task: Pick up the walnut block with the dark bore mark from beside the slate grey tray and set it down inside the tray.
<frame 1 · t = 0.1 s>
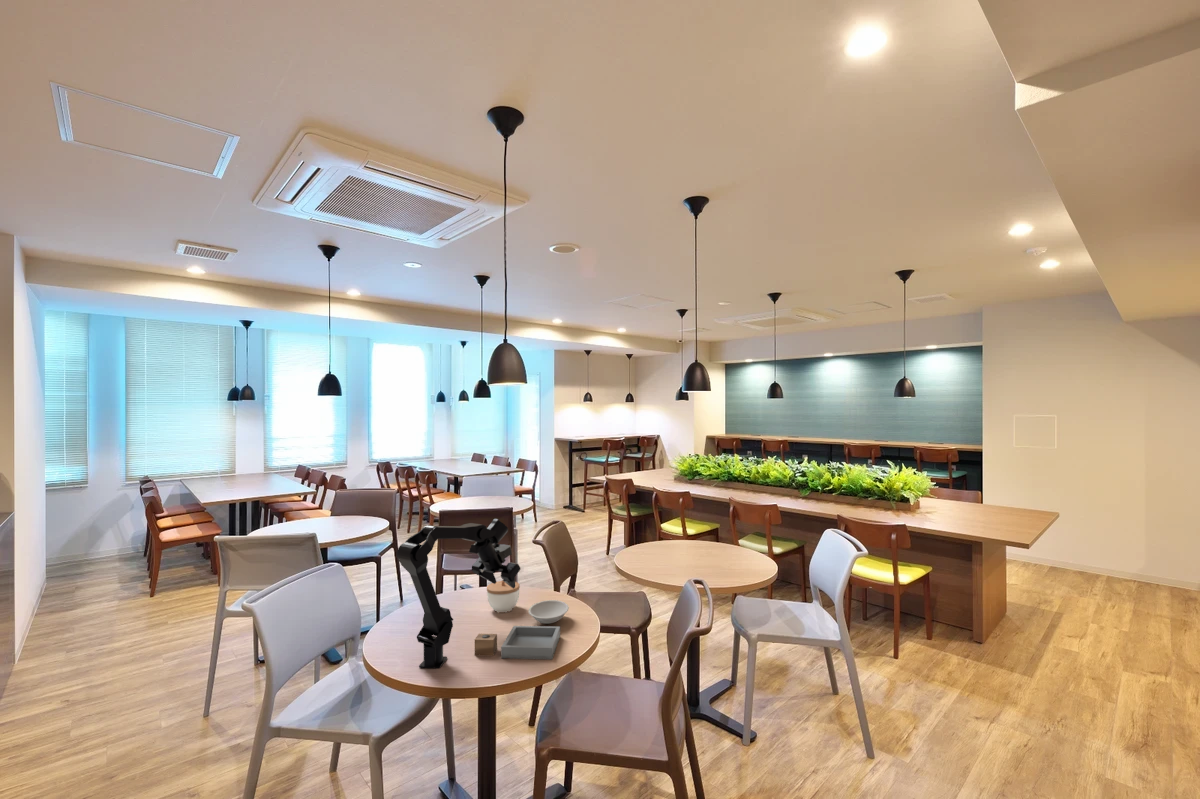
hand: (504, 585, 184), 15 cm above the table, tool tilted 30°, fingers open, 9 cm apart
walnut block: (486, 652, 165), on the table
dish: (548, 623, 187), on the table
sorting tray: (532, 647, 167), on the table
lidded bowl: (503, 609, 201), on the table
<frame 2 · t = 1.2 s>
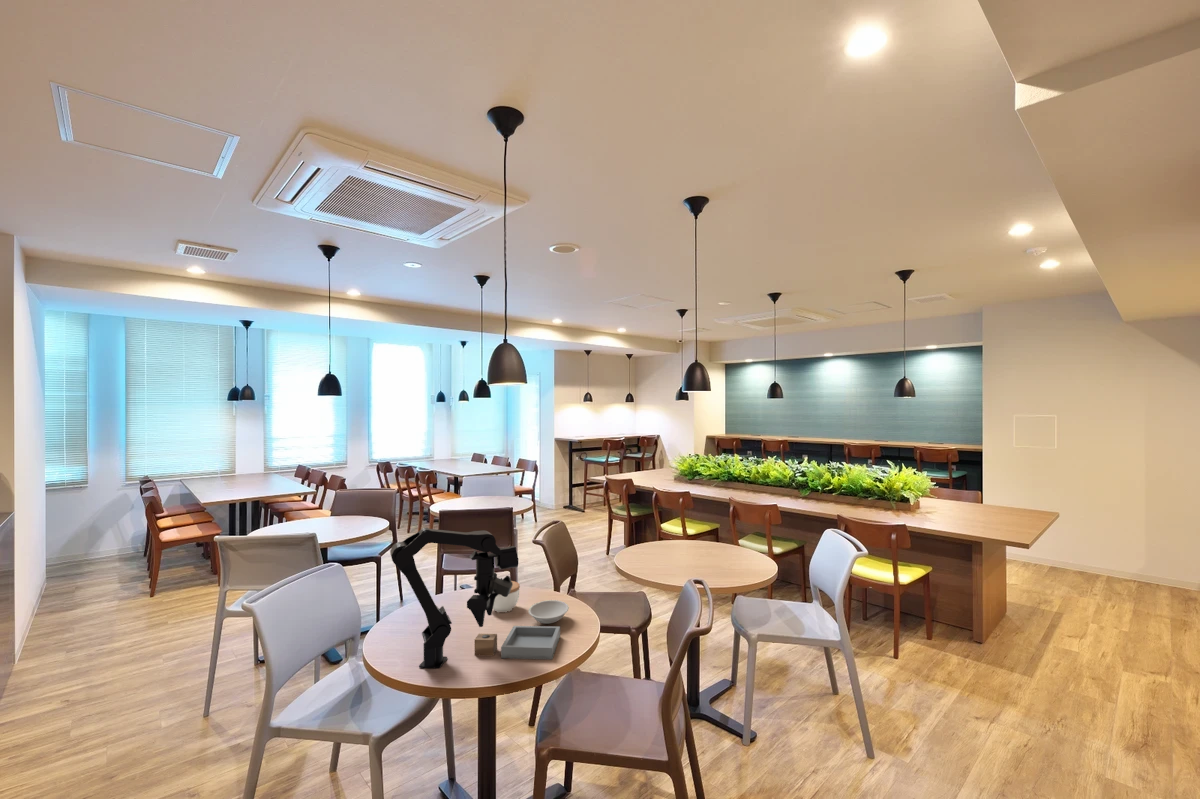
hand: (485, 620, 165), 10 cm above the table, tool pointing down, fingers open, 9 cm apart
nothing on the table moved.
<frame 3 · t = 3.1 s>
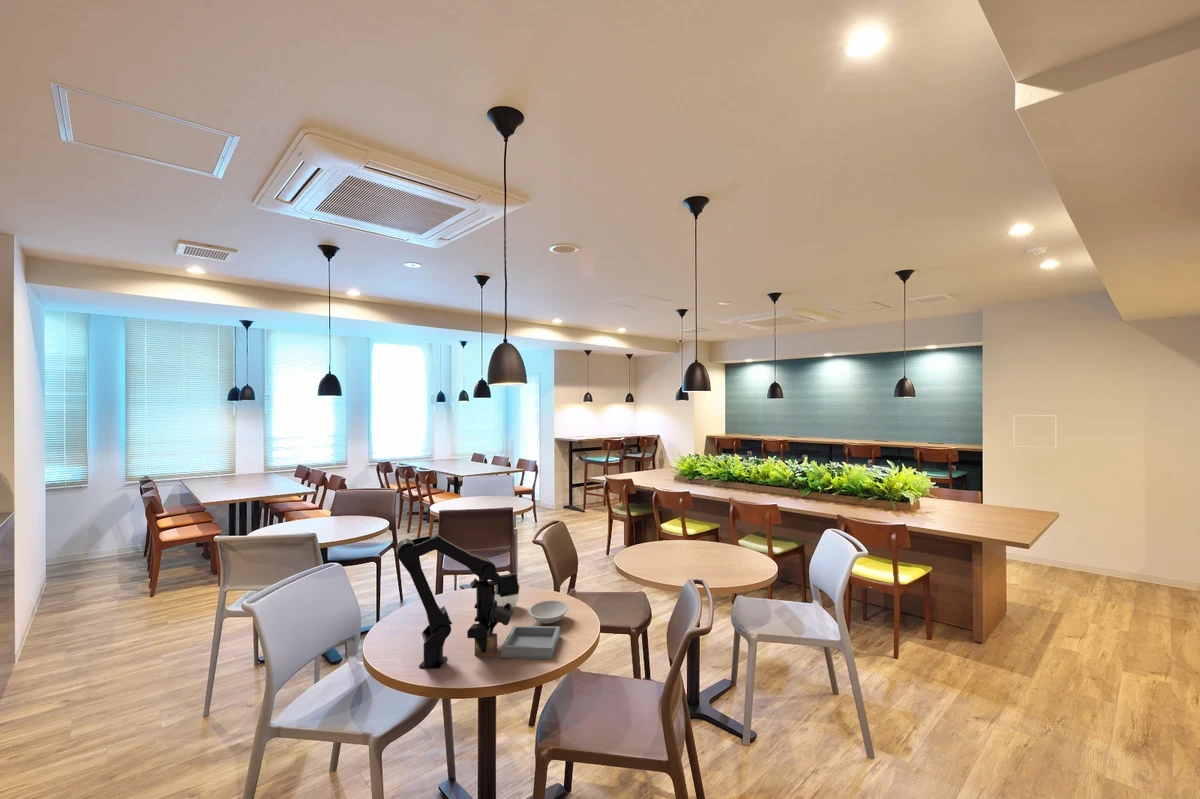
hand: (486, 648, 165), 1 cm above the table, tool pointing down, fingers closed on walnut block, 4 cm apart
walnut block: (486, 652, 165), on the table, touching gripper
everything else where it was.
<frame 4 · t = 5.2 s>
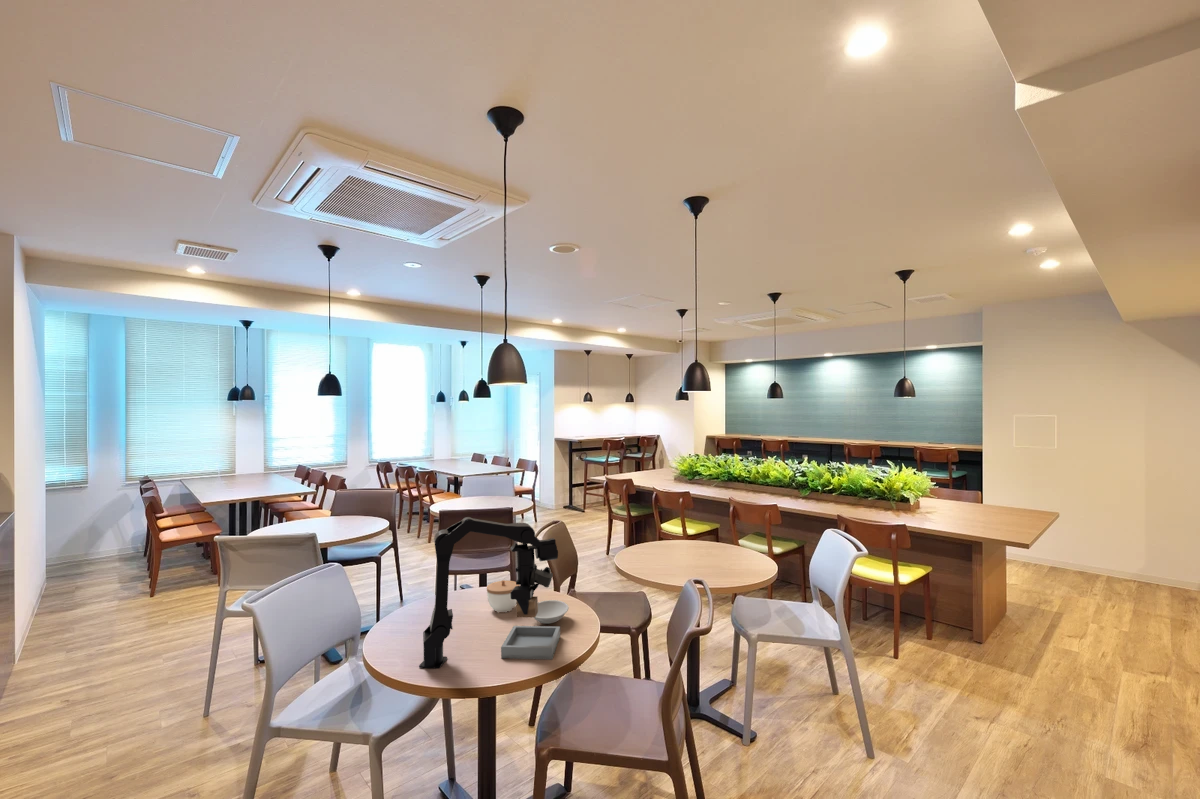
hand: (527, 611, 168), 12 cm above the table, tool pointing down, fingers closed on walnut block, 4 cm apart
walnut block: (527, 614, 168), point 11 cm above the table, touching gripper
everything else where it was.
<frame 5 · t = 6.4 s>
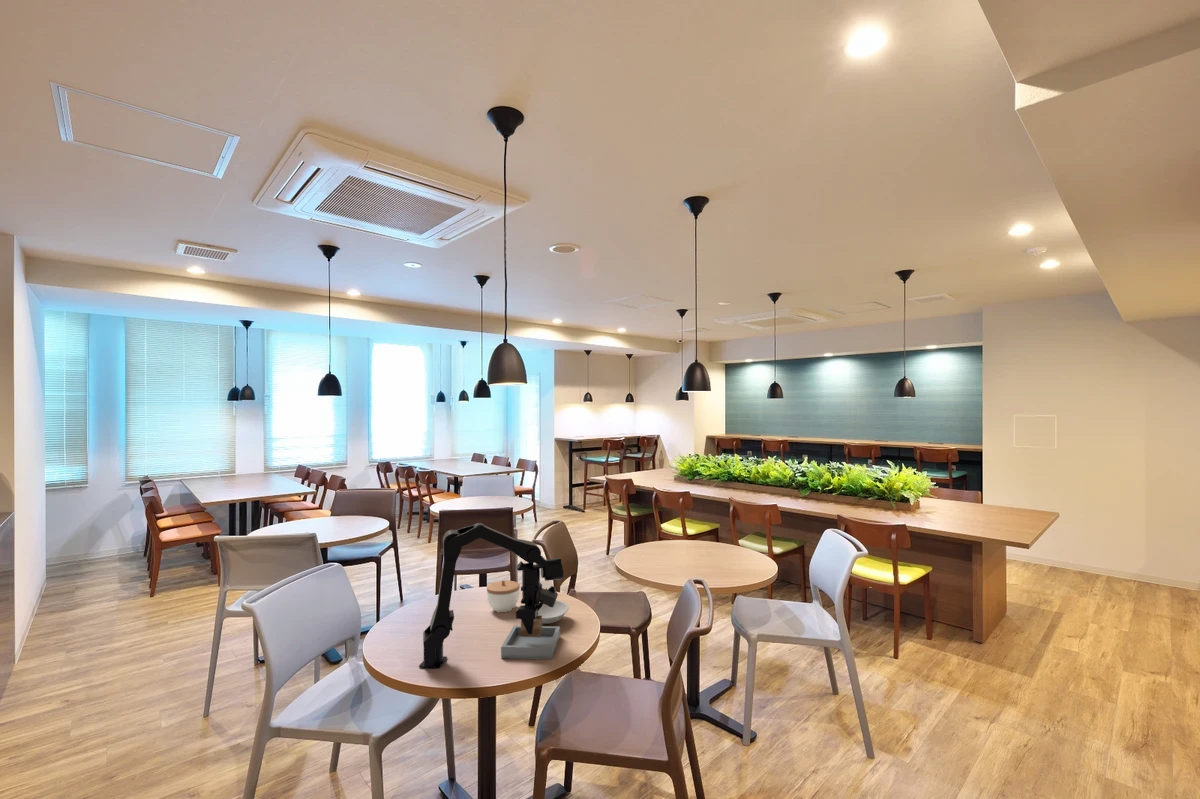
hand: (531, 630, 168), 5 cm above the table, tool pointing down, fingers closed on walnut block, 4 cm apart
walnut block: (531, 633, 168), point 4 cm above the table, touching gripper
everything else where it was.
when the fingers open (3 cm above the table, at t = 7.5 s): walnut block drops 1 cm, resting on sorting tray.
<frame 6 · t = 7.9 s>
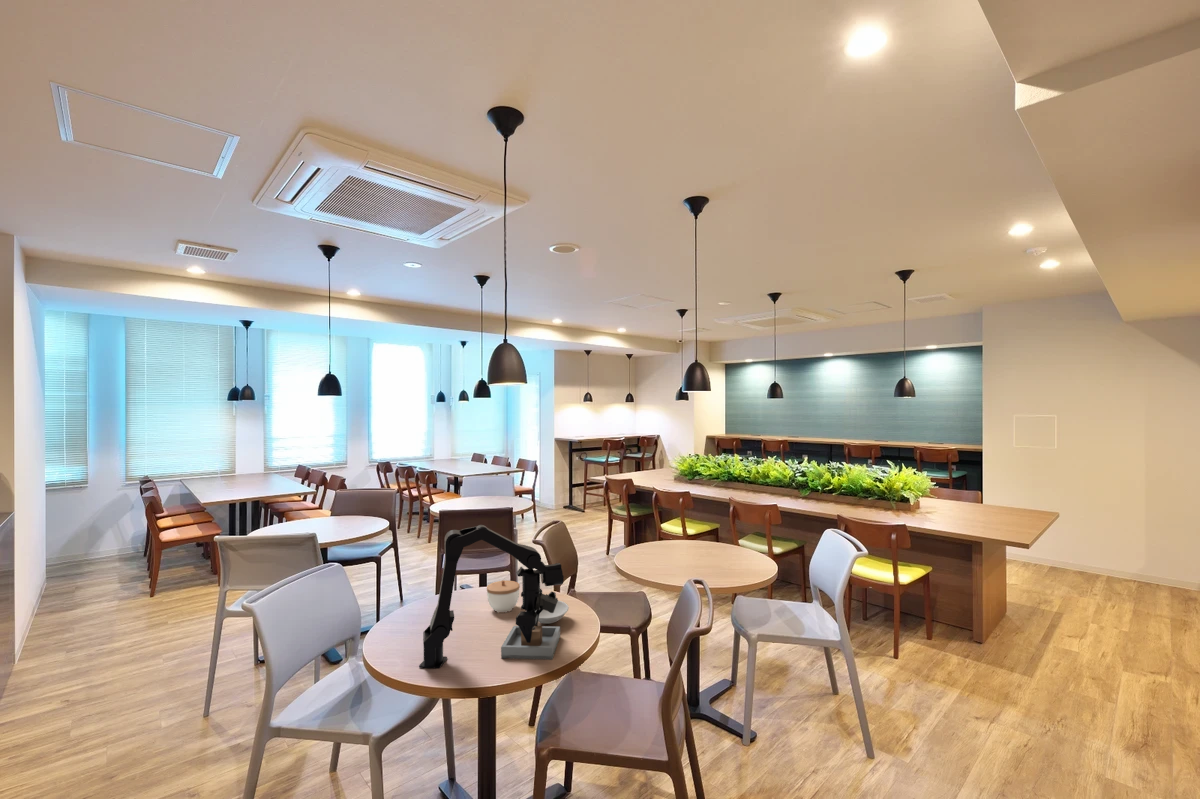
hand: (531, 636, 168), 3 cm above the table, tool pointing down, fingers open, 9 cm apart
walnut block: (531, 644, 168), point 1 cm above the table, touching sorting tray
everything else where it was.
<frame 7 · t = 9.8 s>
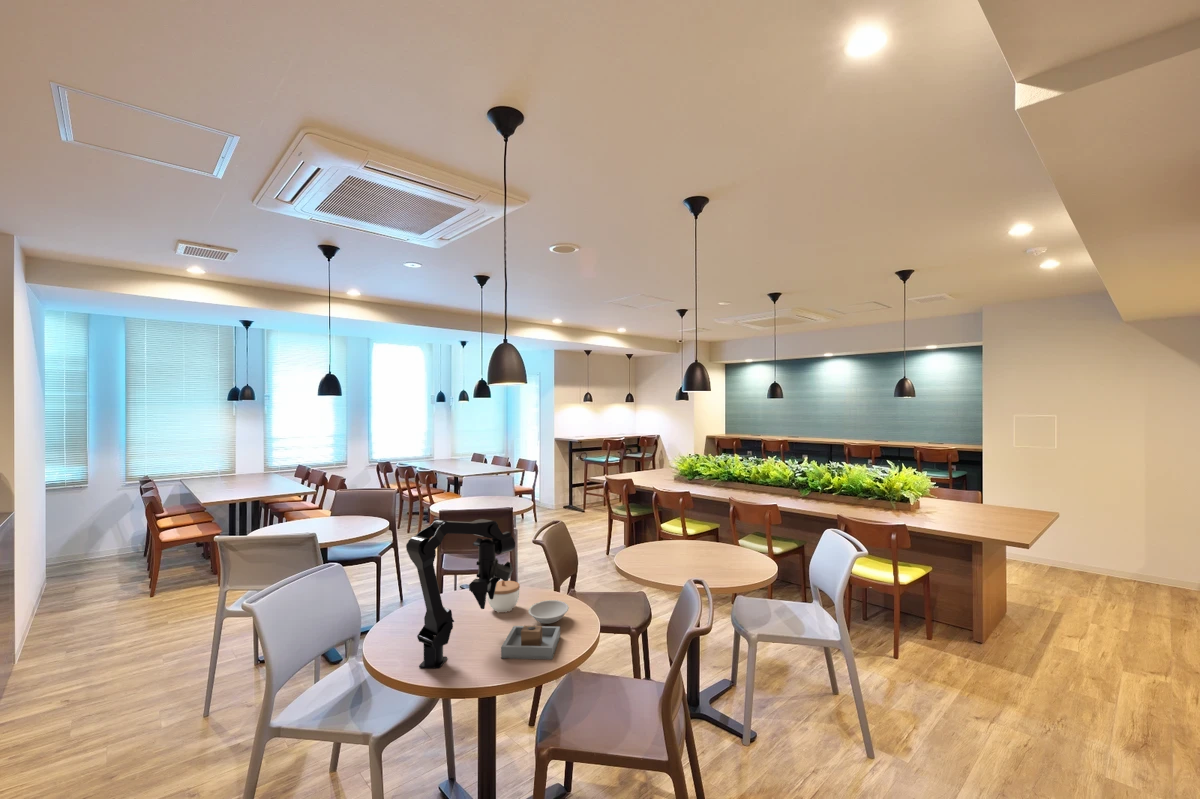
hand: (487, 603, 174), 12 cm above the table, tool pointing down, fingers open, 9 cm apart
nothing on the table moved.
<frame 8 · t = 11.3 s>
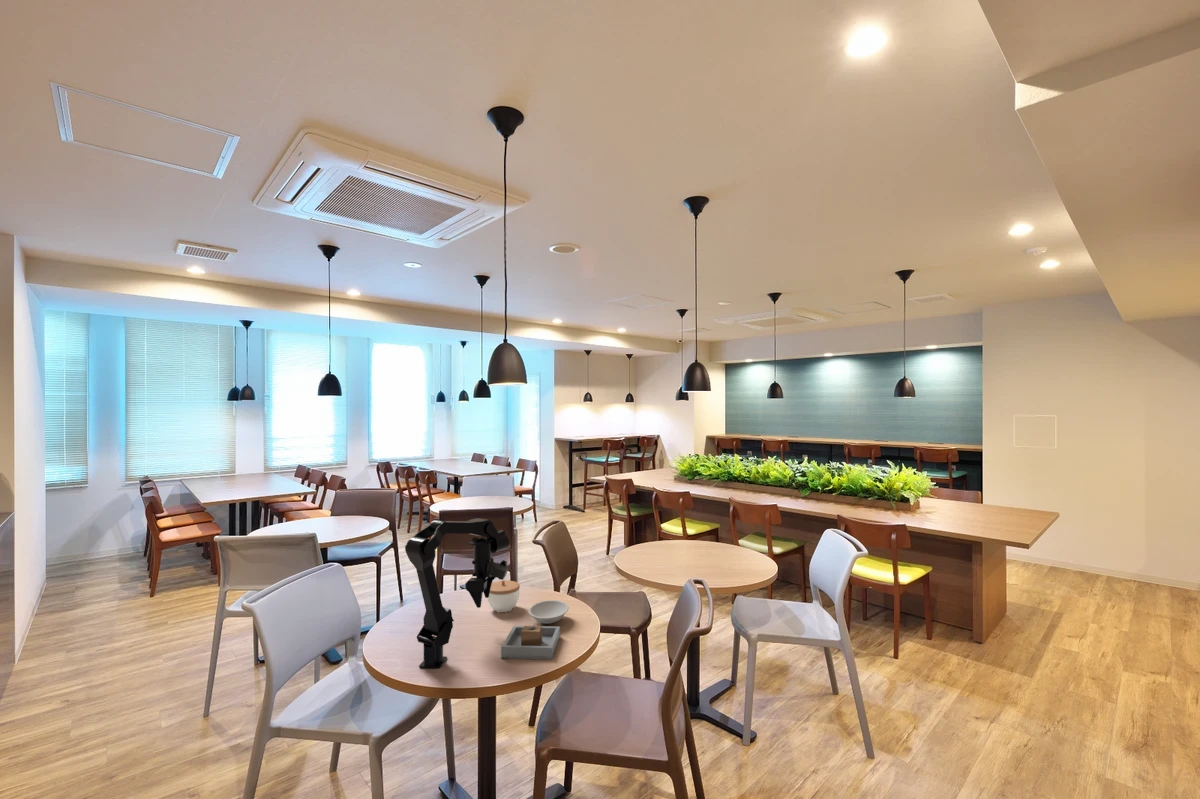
hand: (483, 602, 175), 12 cm above the table, tool pointing down, fingers open, 9 cm apart
nothing on the table moved.
at the end: walnut block inside the target area on the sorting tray (0.0 cm from its centre), point 1.0 cm above the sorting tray's base; walnut block tilted 0°; the gripper is holding nothing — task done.
